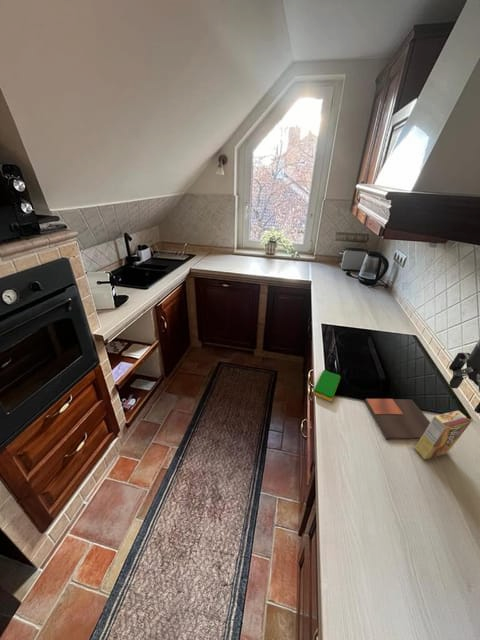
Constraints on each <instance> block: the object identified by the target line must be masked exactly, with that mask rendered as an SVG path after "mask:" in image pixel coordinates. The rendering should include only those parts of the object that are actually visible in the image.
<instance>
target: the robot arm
mask: <svg viewBox="0 0 480 640" xmlns="http://www.w3.org/2000/svg"><path fill="white" fill-rule="evenodd" d="M465 365H466V366H465ZM464 366H465V367H466V368H463V367H464ZM448 369H449V370H450V371H452V375H453V376H452V377H451V378H450V380H449V385H448V387H449V388H450V389H459V388H460V386H461V384H462V383H463V381H464V380H465V378H464V377H467V379H469V380H470V381H472V382H473V384H475V386H476V387H478V392H479V393H480V338H479V339H478V340H477V342H476V344H475V345H474V347H473V349H472V350H471V353H470V352H457V354H456V356H455V357H454V359H453V360H452V362H451V363H450V365H449V366H448ZM473 411H474V412H475V413H476V414H480V401H479V402H478V403H477V405H476V406H475V408H474V409H473Z"/></svg>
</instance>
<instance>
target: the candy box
mask: <svg viewBox="0 0 480 640" xmlns="http://www.w3.org/2000/svg"><path fill="white" fill-rule="evenodd" d="M471 423H472V420H471V419H469V418H468V417H467V416H466V415H465V414H464V413H462V412H461V411H460V410H453V411H450V412H444V413H441V414H437V415H434V416H433V418H432V419H431V421H430V424H429V426H428V427H427V429H426V430H425V432H424V434H423V435H422V437H421V438H420V439H418V441H417V443H416V445H415V446H414V450H415V451H417V453H418V454H419V455H420V456H421V458H423V460H428V459H432V458H436V457H440V456H444V455H447V454H448V453H450V451H451V449H452V448H453V447H454V445H456V442H457V441H458V440H459V439H460V438H461V436H462V435H463V434H464V432H465V431H466V430H467V428H468V427H469V425H470V424H471Z"/></svg>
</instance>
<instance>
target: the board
mask: <svg viewBox="0 0 480 640" xmlns="http://www.w3.org/2000/svg"><path fill="white" fill-rule="evenodd" d="M364 403H365V405H366V407H367V408H368V410H369V412H370V414H371V415H372V418H373V419H374V421H375V423H376V425H377V426H378V428H379V430H380V431H381V433H382V436H383V437H384V439H385V440H420V438H421V437H422V435H423V434H424V432H425V430H426V429H427V427H428V426H429V424H430V423H431V421H430V420H429V419H428V418H427V416H426V415H425V414H424V413H423V412H422V410H421V409H420V408H419V407H418V405H417V404H416V403H415V402H414V400H413V399H411V398H409V399H408V398H406V399H405V398H403V399H402V398H365V399H364Z"/></svg>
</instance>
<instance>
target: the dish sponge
mask: <svg viewBox="0 0 480 640" xmlns="http://www.w3.org/2000/svg"><path fill="white" fill-rule="evenodd" d="M341 377H342V376H341V375H340V374H336V373H333V372H331V371H329V370H326V369H324V370H322V372H321V374H320V377H319V379H318V380H317V382H316V385H315V386H314V389H313V391H312V394H313V396H316V397H318V398H321V399H323V400H325V401H328V402H333V399H334V397H335V394H336V392H337V388H338V387H339V384H340V382H341Z"/></svg>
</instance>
